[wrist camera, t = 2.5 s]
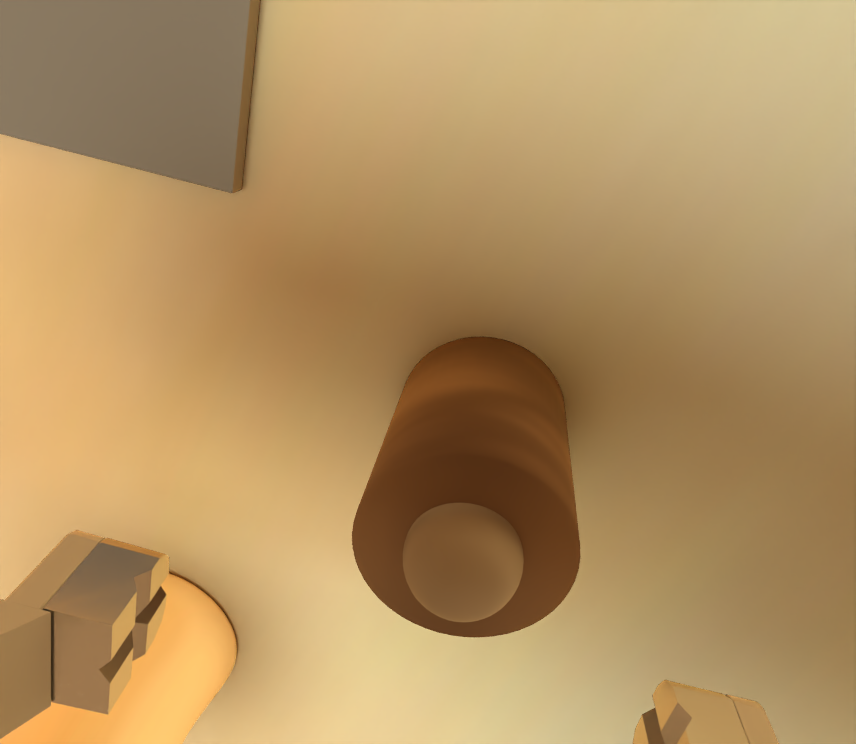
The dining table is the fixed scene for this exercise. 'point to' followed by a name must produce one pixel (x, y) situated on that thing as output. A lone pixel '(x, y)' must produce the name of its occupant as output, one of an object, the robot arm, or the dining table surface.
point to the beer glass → (153, 681)
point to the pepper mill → (472, 494)
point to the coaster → (133, 82)
